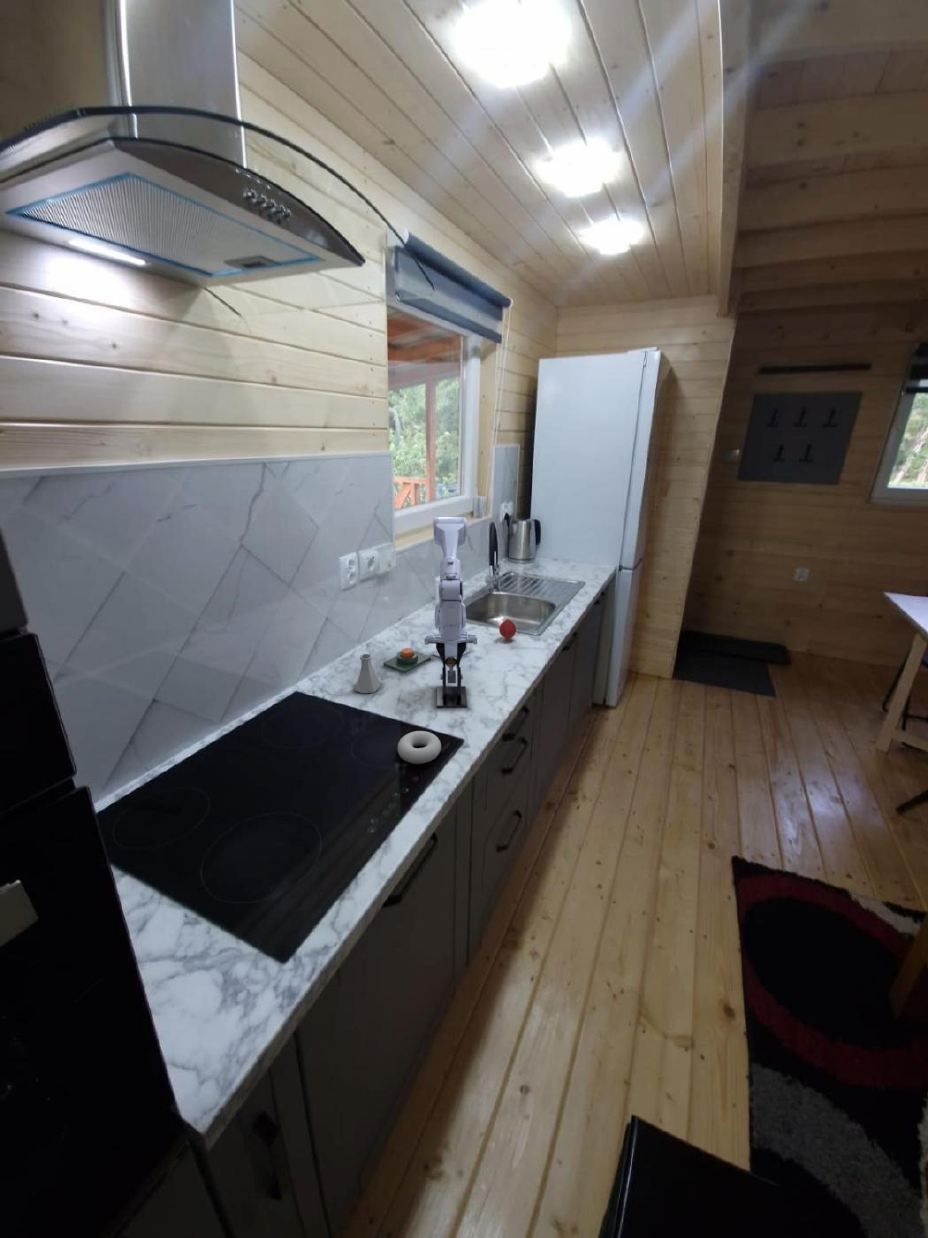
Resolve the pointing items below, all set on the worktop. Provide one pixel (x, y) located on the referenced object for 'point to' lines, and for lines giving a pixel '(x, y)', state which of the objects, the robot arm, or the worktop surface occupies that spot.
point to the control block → (406, 662)
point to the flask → (367, 676)
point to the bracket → (451, 692)
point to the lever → (451, 669)
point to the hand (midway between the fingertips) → (450, 666)
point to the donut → (419, 754)
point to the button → (406, 652)
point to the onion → (507, 629)
